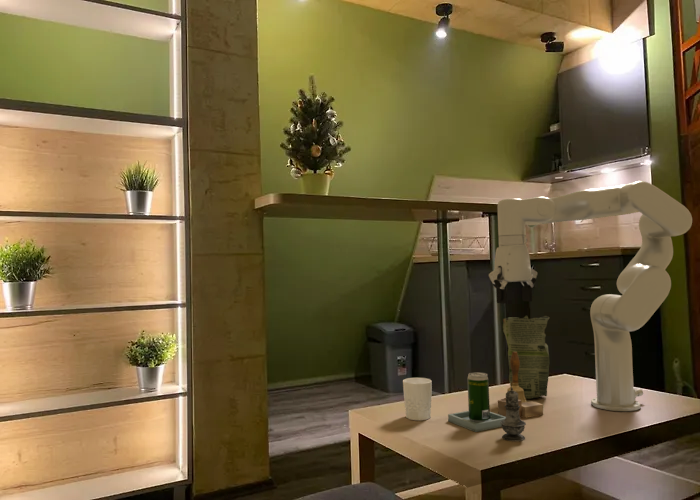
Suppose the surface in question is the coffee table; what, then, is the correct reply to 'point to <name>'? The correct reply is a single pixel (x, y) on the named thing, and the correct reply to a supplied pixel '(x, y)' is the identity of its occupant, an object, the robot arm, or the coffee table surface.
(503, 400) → the walnut cube
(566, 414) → the coffee table surface
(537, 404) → the light oak block
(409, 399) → the white cup
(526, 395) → the pouch
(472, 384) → the green soda can
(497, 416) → the tray
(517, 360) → the hand bell
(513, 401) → the grey turned upright piece
